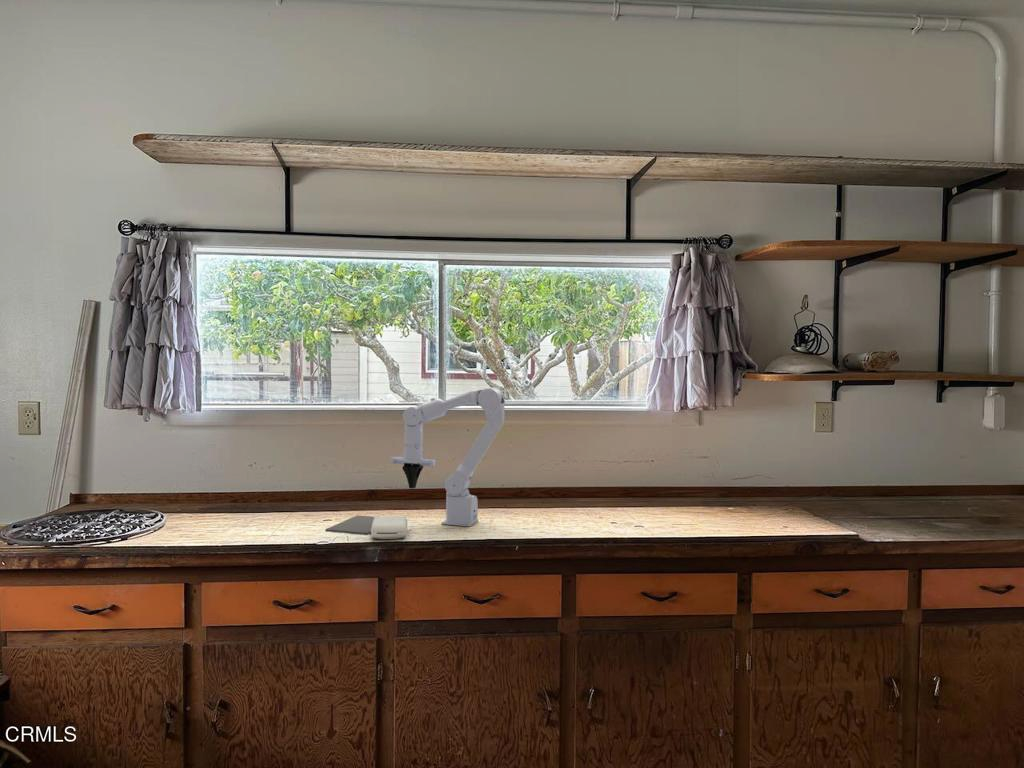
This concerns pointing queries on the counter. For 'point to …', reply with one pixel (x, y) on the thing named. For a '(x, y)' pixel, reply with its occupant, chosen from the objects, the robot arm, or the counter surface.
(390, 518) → the photo printer
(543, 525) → the counter surface
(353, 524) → the mat
